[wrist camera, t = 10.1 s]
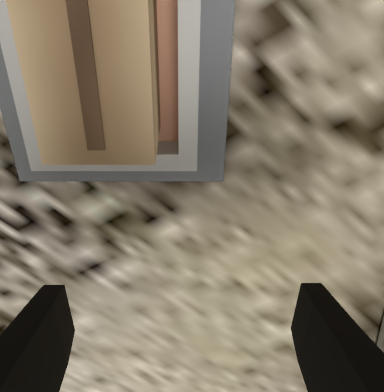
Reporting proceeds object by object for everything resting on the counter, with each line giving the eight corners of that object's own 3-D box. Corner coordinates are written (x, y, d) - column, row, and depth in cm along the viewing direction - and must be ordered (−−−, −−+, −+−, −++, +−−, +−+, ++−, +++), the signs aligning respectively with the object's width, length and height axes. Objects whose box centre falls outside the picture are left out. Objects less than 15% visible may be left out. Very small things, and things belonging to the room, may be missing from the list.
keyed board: (222, 177, 19) (226, 198, 17) (22, 177, 18) (6, 198, 17) (248, -223, 11) (260, -257, 10) (-83, -233, 11) (-132, -270, 9)
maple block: (153, -102, 12) (142, -130, 9) (160, 124, 17) (154, 166, 13) (33, -105, 12) (-26, -135, 9) (71, 124, 16) (41, 165, 13)
